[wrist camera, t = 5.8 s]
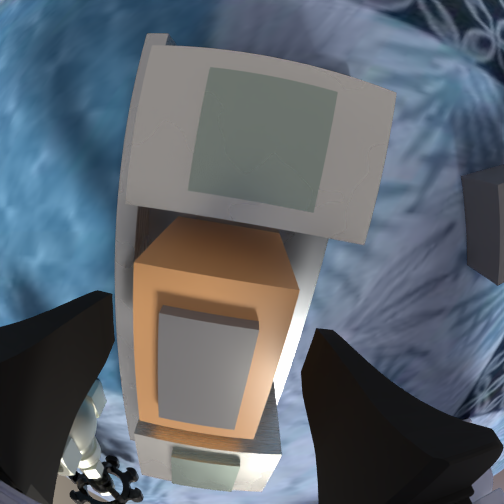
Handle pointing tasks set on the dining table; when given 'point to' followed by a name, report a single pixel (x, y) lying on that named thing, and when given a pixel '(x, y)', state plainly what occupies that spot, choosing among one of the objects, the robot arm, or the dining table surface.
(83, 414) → the valve
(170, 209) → the rail plate
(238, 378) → the orange module
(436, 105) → the dining table surface
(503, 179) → the dark gray block
